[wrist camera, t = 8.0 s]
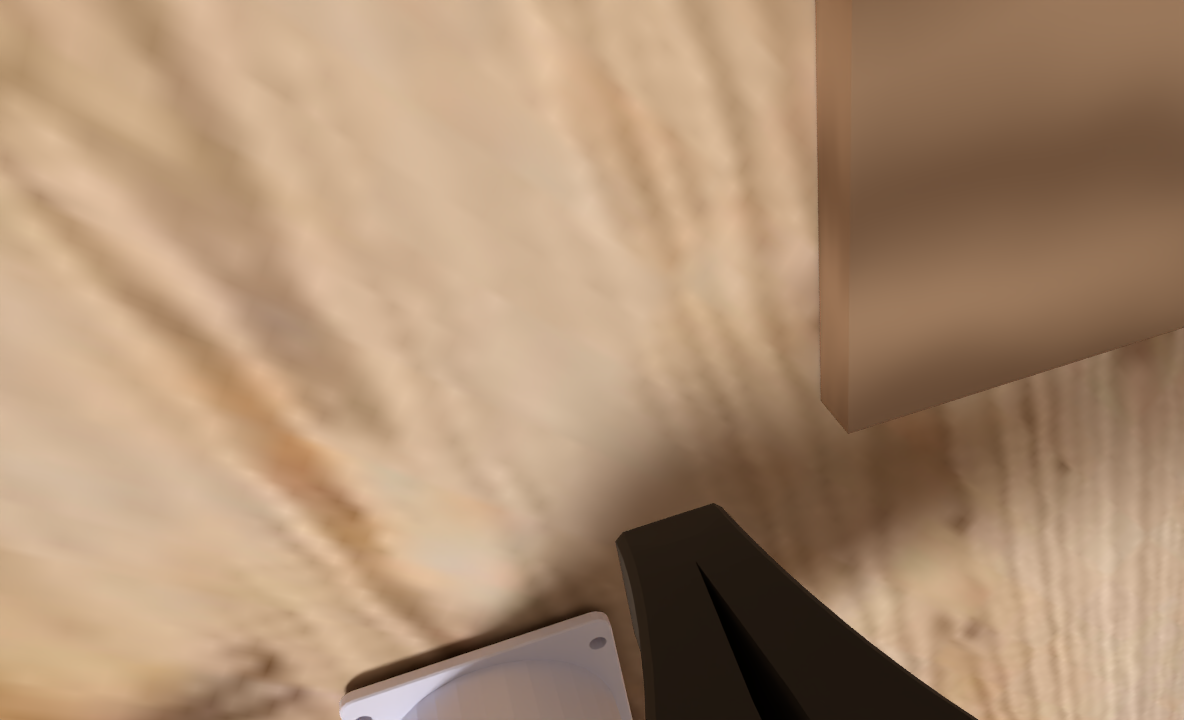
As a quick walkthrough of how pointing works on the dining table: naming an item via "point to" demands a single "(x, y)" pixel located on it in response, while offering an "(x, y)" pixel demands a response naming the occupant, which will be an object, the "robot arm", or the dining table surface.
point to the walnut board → (992, 192)
